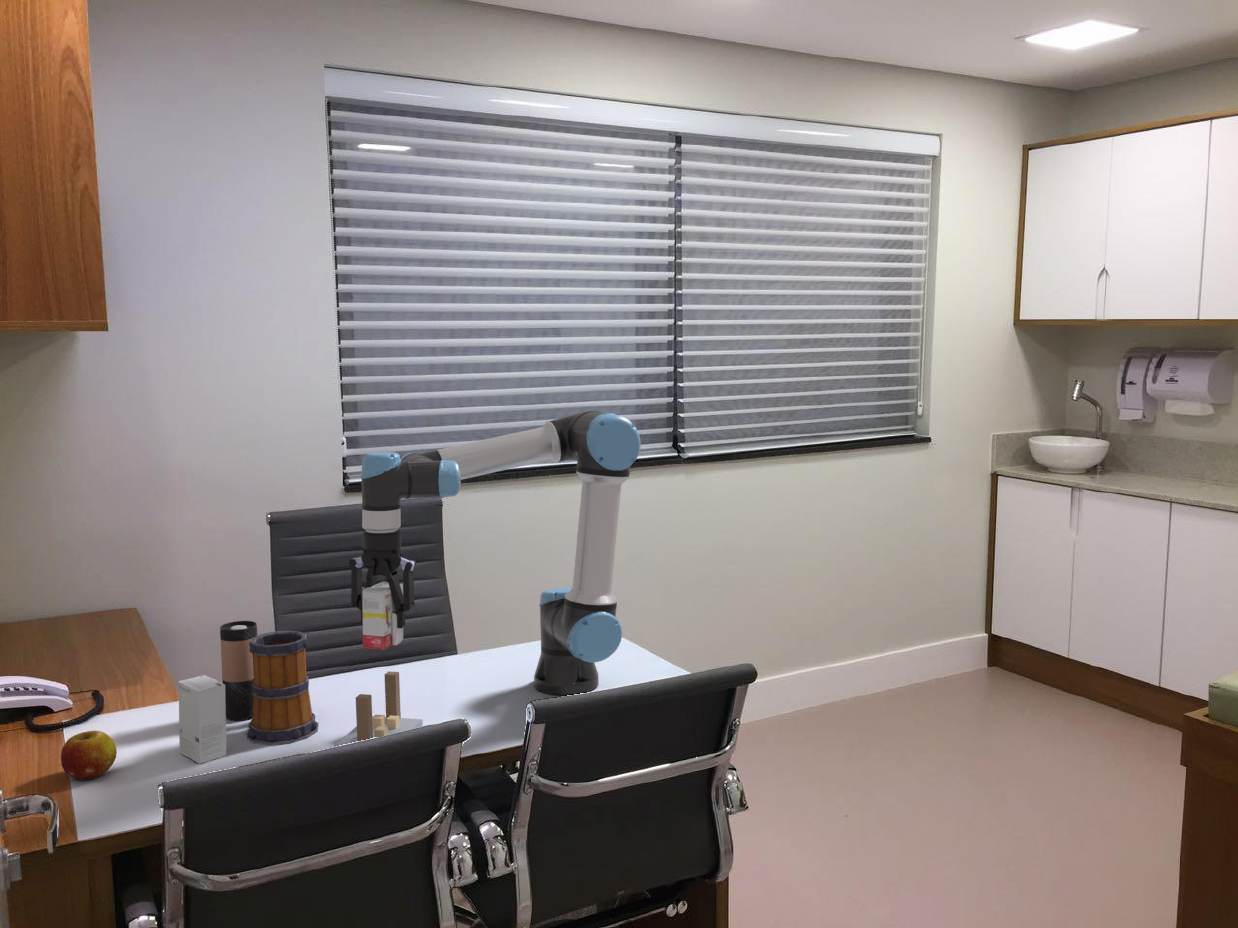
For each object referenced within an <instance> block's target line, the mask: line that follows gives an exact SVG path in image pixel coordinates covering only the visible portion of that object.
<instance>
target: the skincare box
mask: <svg viewBox="0 0 1238 928" xmlns="http://www.w3.org/2000/svg"><path fill="white" fill-rule="evenodd" d="M177 682H178V728H179V729H178V731H179V754H181V755H184V756H185V757H187V758H190V759H191V760H193V761H194V762H196V763H197V764H203V763H208V762H210V761H213V760H216V759H220V758H223V757H226V756H227V718H226V704H225V685H224V684H223V682H220V681H218V680H217V678H216V679H215V678H213V677H209V676H208V675H205V674H203V675H200V676H199V675H198V676H194V677H192V678H187V679H182V680H179V681H177Z"/></svg>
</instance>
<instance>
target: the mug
mask: <svg viewBox="0 0 1238 928" xmlns="http://www.w3.org/2000/svg"><path fill="white" fill-rule="evenodd" d="M249 646H250V652H251V653H253V671H254V682H253V684H252V693H253V695H254V696H253V713H252V719H250V721H249V723H248V730H247V733H246V735H245V736H246V739H247V740H248V741H250V742H252V743H253V744H255V745H256V744H258V745H266V746H279V745H289V744H290V745H291V744H293V743H296V742H300V741H304V740H307V739H309V738H311V737H312V736H314V735H315V734H317V733H318V732H319V722H318V721H316V714H315V713H313V710H312V708H313V707H312V704H311V696H310V689H309V686H310V682H309V681H310V680H309V675H307V663H306V662H307V659H306V648H308V646H309V641H308V636H307V634H306V633H304V632H301V631H296V630H276V631H270V632H264V633H261V634H257V636H256V637H254V638H252V639H251V641H250V643H249Z"/></svg>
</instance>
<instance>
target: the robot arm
mask: <svg viewBox="0 0 1238 928" xmlns="http://www.w3.org/2000/svg"><path fill="white" fill-rule="evenodd" d="M641 445H642V443H641V437H640V433H639V431H638V429H637V427H636V426H635V425H634V423H632V422H631V421H630V420H629V419H627V418H626V417H625V416H622V415H619V414H617V413H613V412H601V411H595V410H585V411H580V412H578V413H574V414H570V415H567V416H563V417H561V418H556V419H553V420H547V421H545V422H544V424H543V425H542V426H541V427H537V428H531V429H528V430H523V431H518V432H514V433H509V434H505V435H500V436H499V435H498V436H495V437H491V438H486V439H482V440H477V441H471V442H467V443H462V444H458V445H455V446H454V445H453V446H450V447H444V448H439V449H435V450H431V451H427V452H422V453H419V452H411V453H406V454H405V455H403V456H401V455H400V454H399V453H398V452H394V451H375V452H368V453H365V454H364V455H363V456H362V459H361V475H360V478H361V479H360V480H361V503H362V504H361V506H362V509H361V511H362V512H361V513H362V515H361V516H362V519H361V521H362V522H361V527H362V529H364V530H363V532H362V554H361V556H359V557H358V556H355V557H353V558H351V559H349V560H348V564H349V568H350V571H351V577H350V578H351V580H350V582H351V587H350V589H351V590H350V592H351V593H350V594H351V596H350V598H351V599H350V601H351V603H350V604H351V607H352V608H355V609H356V608H357V609H358V610H359V611H360V624H361V627H363V592H362V591H363V589H365V588H368V587H372V586H374V585H376V584H377V580H378V577H379V576H383V577H385V579H386V582H388V584H389V587H390V590H391V595H392V598H393V602H394V606H395V610H396V611H395V612H394V613H392V635H393V645H392V646H398V645H399V644H400V643H402V640H403V639H401V628H403V629H404V627H405V626H406V612H408V611H409V610H410V611H411V609H413V608H414V607H415V584H414V583H415V582H414V581H415V580H414V579H415V578H414V577H415V576H414V571H415V567H416V565H417V562H416V560H414V559H411V560H410V559H406V558H404V556H403V553H402V550H401V549H402V531H401V530H400V527H401V525H402V524H401V521H402V520H401V518H402V517H401V516H402V515H401V508H402V506H401V502H402V501H401V500H409V499H434V498H436V499H437V498H438V499H439V498H441V499H444V498H448V497H455V496H457V495H458V494H459V492H460V489H461V481H462V480H466V479H469V478H470V479H471V478H475V477H479V476H483V475H489V474H493V473H496V472H502V471H505V470H510V469H511V470H512V469H515V468H518V467H523V466H528V465H531V464H537V463H541V462H544V461H545V462H546V461H551V462H553V463H555V464H557V463H561V462H566V461H567V462H568V461H577V462H576V474H577V476H579V478H580V479H581V481H582V482H581V491H580V492H581V493H580V504H579V516H578V523H577V524H578V525H577V536H576V548H575V557H574V558H575V559H574V568H573V579H572V580H573V581H572V586H563V587H555V588H549V589H546V590H544V591H542V592H541V593H540V601H539V612H540V613H539V615H540V616H539V618H540V620H539V622H540V624H539V625H540V656H539V659H538V662H537V666H536V669H535V672H534V675H533V684H534V685H533V687H534V688H535V689H536V690H537V691H538V692H542V693H545V694H547V695H549V694H550V695H555V696H556V695H557V696H570V695H569V694H574V695H577V694H576V693H581V694H584V693H583V692H585V693H588V692H590V691H593V690H595V689H596V688H597V687H598V686H599V681H600V680H599V672H598V670H597V666H596V664H595V663H598V662H603V661H605V660H607V659H609V657H611V656H612V655H613V654H615V652H617V650H618V648H619V646H620V644H621V641H622V637H623V629H622V625H621V623H620V621H619V619H618V618H617V615H616V614H617V607H618V606H617V605H618V599H617V598H616V596H615V595H614V594H613V593H612V584H613V574H614V565H615V554H616V544H617V535H618V534H617V533H618V524H619V513H620V503H621V491H622V485H623V484H624V483H625V482H626V481H627V480H628V479H630V472H631V466H632V464H633V463H634V462H635V461H637V459H638V457H639V454H640V451H641ZM363 564H364V565H363ZM400 565H401V570H403V572H402V573H403V574H402V580H403V581H402V582H403V583H402V584H403V594H402V590H401V586H400V584H401V583H400V580H399V571H398V568H399V567H400ZM363 566H365V567H366V568H367V572H366V576H365V578H366V580H365V584H364V588H363Z"/></svg>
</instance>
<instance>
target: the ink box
mask: <svg viewBox="0 0 1238 928" xmlns="http://www.w3.org/2000/svg"><path fill="white" fill-rule="evenodd" d="M400 586H401V590H402V594H403V595H404V589H403V583H400ZM364 588H365V587H364ZM364 588H362V596H363V626H362V648H363V649H373V650H375V649H376V650H382V651H383V650H386V649H388V648H390V647H391V646H394V645H393V635H392V613H394V612H395V611H396V610H395V606H394V602H393V598H392V595H391V590H390V587H389V584H388V581H380V582H379V583H376V585H374V586H372V587H368V588H365V589H364ZM401 639H402V640H404V627H403V628H401Z"/></svg>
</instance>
